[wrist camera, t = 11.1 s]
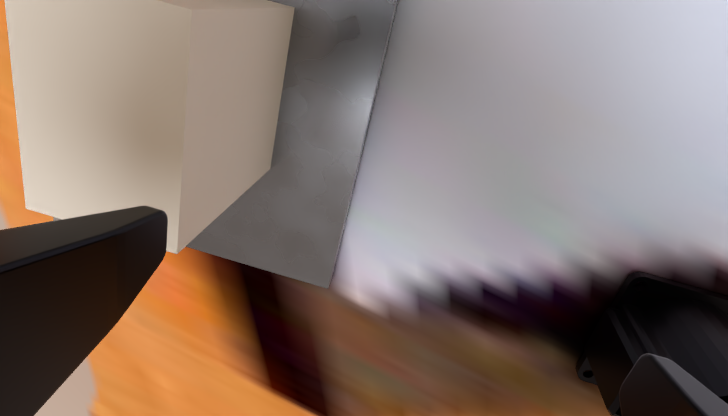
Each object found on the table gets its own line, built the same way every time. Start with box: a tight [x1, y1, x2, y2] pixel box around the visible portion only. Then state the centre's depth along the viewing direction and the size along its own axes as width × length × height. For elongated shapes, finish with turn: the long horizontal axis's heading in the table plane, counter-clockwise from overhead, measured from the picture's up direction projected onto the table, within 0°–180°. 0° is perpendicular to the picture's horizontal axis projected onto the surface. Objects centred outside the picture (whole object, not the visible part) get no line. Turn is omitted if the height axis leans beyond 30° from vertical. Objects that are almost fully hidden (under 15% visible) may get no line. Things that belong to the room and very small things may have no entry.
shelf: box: [53, 0, 398, 289], centre depth 18 cm, size 13×23×3 cm, turn 167°
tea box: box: [5, 0, 295, 254], centre depth 16 cm, size 5×7×8 cm
